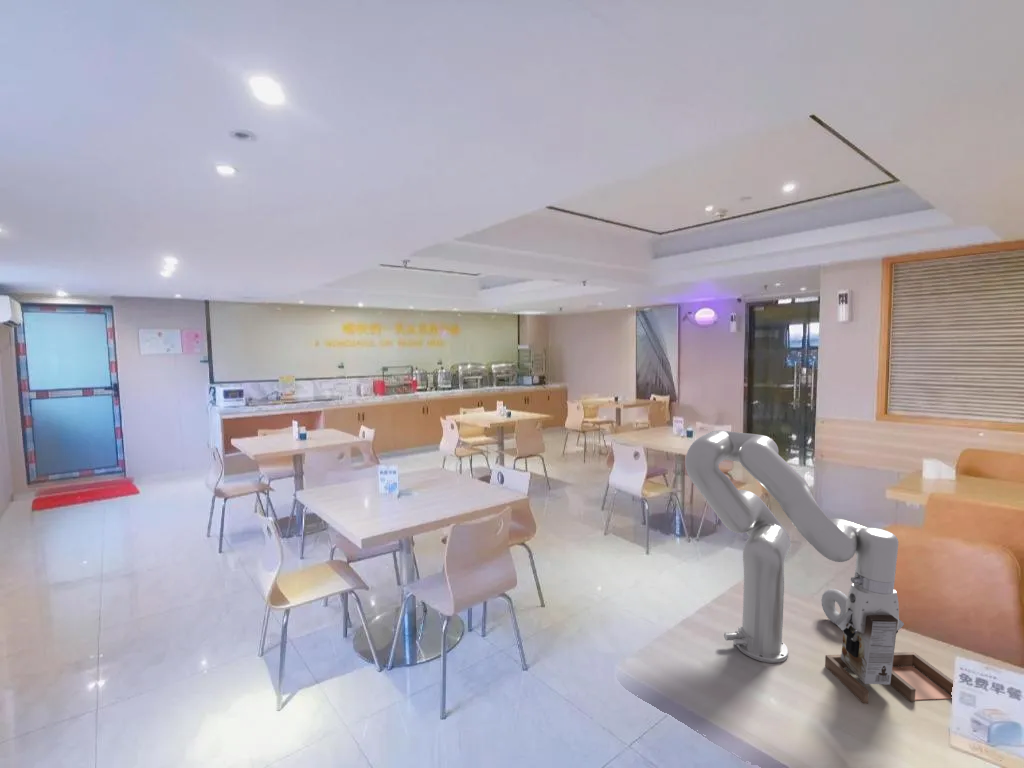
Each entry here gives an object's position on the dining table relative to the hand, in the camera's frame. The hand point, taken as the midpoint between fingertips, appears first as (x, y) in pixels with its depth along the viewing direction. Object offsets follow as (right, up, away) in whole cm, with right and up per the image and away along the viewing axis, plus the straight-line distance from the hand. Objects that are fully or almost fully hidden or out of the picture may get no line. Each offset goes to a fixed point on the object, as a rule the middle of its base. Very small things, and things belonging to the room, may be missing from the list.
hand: (866, 652), depth 118 cm
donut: (+10, -6, +26) cm, 28 cm away
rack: (+6, -8, 0) cm, 10 cm away
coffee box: (0, -5, +1) cm, 5 cm away
